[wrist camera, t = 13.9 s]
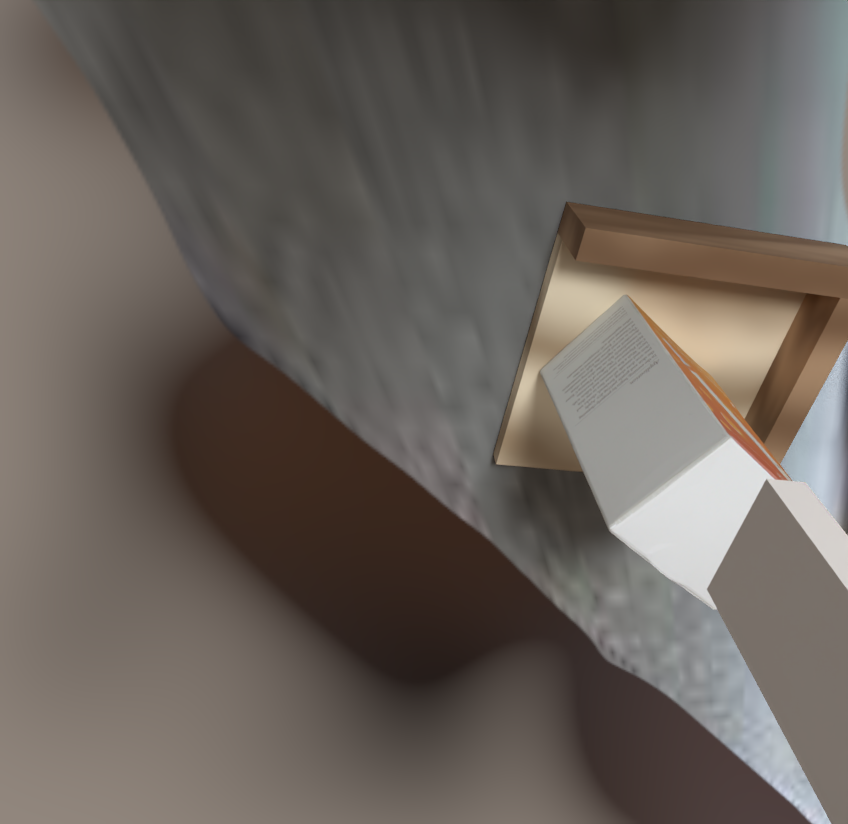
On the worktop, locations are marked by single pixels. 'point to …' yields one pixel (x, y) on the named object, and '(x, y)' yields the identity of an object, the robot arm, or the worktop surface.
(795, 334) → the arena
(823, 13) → the worktop surface
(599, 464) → the small box
